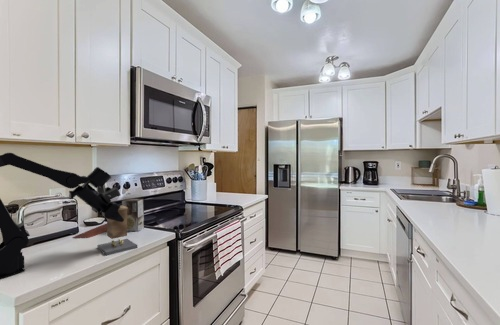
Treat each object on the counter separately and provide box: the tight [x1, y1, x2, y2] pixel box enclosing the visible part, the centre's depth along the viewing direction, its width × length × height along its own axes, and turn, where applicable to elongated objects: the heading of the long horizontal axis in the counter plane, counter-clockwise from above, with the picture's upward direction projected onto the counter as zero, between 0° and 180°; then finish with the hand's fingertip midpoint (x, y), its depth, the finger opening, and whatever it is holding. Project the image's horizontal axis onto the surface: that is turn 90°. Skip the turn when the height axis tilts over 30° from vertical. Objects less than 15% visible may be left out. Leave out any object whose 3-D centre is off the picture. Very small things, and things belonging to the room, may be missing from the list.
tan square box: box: [106, 204, 128, 239], centre depth 107 cm, size 6×6×12 cm
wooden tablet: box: [72, 223, 107, 239], centre depth 132 cm, size 27×10×2 cm, turn 172°
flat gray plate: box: [97, 238, 138, 256], centre depth 107 cm, size 12×12×3 cm
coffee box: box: [121, 198, 145, 232], centre depth 135 cm, size 9×6×16 cm
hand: (120, 219), depth 108 cm, fingers closed on tan square box, 6 cm apart
